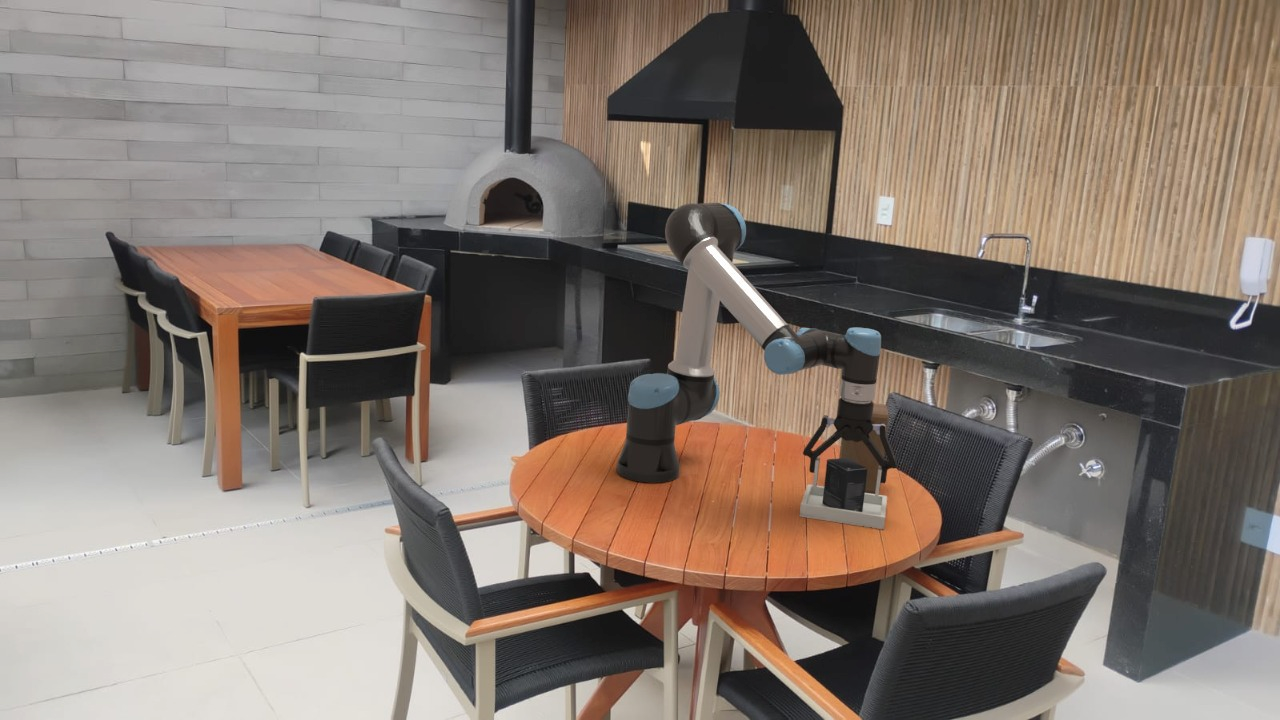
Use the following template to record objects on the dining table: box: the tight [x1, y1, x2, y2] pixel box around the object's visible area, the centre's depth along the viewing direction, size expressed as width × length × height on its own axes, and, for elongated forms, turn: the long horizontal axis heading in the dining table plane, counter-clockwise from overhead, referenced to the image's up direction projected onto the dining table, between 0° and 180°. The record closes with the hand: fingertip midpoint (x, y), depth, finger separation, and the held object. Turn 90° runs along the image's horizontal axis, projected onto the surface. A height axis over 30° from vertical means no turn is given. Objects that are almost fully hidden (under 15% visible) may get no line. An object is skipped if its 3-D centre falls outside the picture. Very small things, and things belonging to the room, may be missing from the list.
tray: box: [799, 483, 888, 531], centre depth 220 cm, size 18×14×3 cm
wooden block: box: [838, 402, 890, 494], centre depth 235 cm, size 10×10×20 cm
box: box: [823, 457, 868, 512], centre depth 219 cm, size 8×6×11 cm
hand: (845, 491), depth 219 cm, fingers open, 13 cm apart
